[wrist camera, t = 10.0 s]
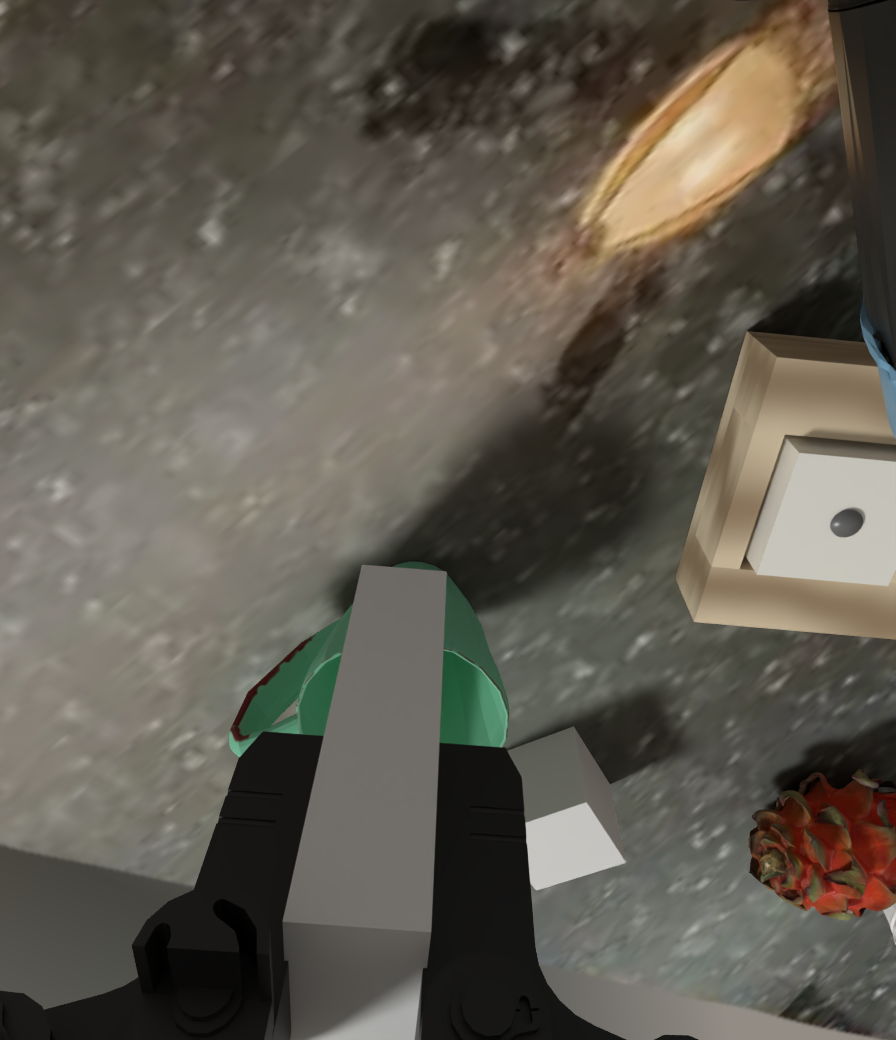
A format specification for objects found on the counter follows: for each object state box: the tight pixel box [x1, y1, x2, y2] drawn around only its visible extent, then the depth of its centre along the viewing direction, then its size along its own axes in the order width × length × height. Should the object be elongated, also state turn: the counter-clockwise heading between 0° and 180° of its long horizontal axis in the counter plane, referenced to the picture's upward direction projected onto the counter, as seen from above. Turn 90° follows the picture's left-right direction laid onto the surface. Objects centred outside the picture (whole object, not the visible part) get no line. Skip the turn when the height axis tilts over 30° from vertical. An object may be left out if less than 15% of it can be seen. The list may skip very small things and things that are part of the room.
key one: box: [745, 435, 896, 586], centre depth 36 cm, size 6×6×4 cm
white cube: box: [508, 726, 626, 890], centre depth 48 cm, size 6×6×6 cm
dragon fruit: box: [749, 769, 896, 920], centre depth 48 cm, size 8×8×12 cm
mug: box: [229, 561, 509, 757], centre depth 40 cm, size 15×10×10 cm
